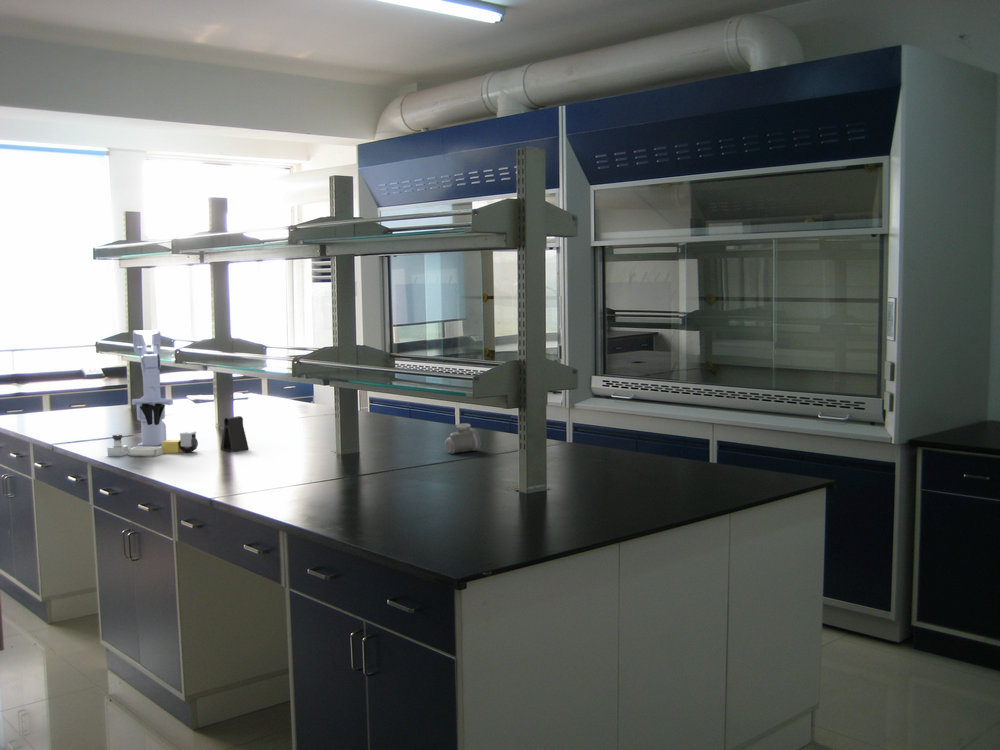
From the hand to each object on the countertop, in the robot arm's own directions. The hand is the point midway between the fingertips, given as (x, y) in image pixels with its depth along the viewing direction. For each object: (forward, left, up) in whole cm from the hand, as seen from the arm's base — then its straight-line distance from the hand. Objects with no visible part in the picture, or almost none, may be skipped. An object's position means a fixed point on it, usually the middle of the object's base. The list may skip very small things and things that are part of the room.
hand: (153, 424), depth 325 cm
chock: (0, +7, -10) cm, 12 cm away
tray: (+6, 0, -10) cm, 12 cm away
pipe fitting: (-8, +111, -10) cm, 112 cm away
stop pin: (+7, -10, -10) cm, 16 cm away
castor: (0, +13, -10) cm, 16 cm away
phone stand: (-7, +27, -10) cm, 30 cm away
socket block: (+7, -10, -10) cm, 16 cm away
